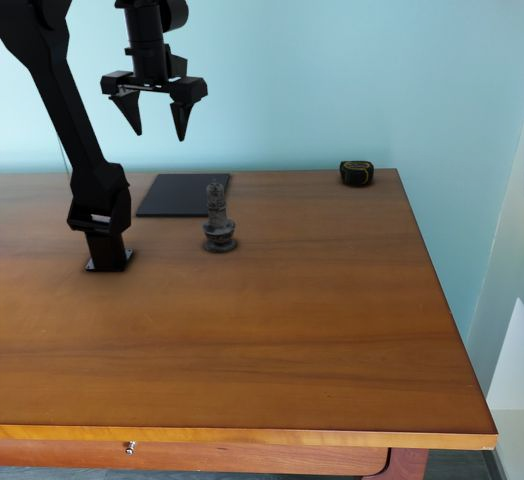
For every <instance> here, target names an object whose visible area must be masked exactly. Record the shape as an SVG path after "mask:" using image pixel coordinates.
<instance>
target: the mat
mask: <svg viewBox="0 0 524 480" xmlns="http://www.w3.org/2000/svg"><path fill="white" fill-rule="evenodd" d="M230 177H231V174H230V173H227V172H226V173H223V172H222V173H217V172H216V173H158V174H157V175H156V177H155V179H154V181H153V182H152V183H151V186H150V187H149V190H148V191H147V193H146V195H145V197H144V198H143V200H142V202H141V203H140V205H139V207H138V208H137V210H136V212H135V217H139V218H140V217H141V218H143V217H146V218H147V217H148V218H149V217H150V218H151V217H152V218H153V217H154V218H155V217H161V218H162V217H164V218H165V217H166V218H167V217H169V218H170V217H171V218H172V217H175V218H176V217H177V218H178V217H180V218H181V217H185V218H186V217H188V218H190V217H193V218H194V217H195V218H197V217H198V218H199V217H200V218H201V217H208V218H209V213H208V208H206V204H207V203H208V199H207V186H208V185H209V184H211V183H212V182H213V181H212V180H213V179H214V178H215V179H216V182H217V183H220V184H221V185H222V186H223V188H224V194H226V190H227V187H228V184H229V180H230Z"/></svg>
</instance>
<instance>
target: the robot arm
mask: <svg viewBox="0 0 524 480" xmlns="http://www.w3.org/2000/svg"><path fill="white" fill-rule="evenodd" d="M72 3H73V0H0V42H1V43H2V45H3V46H4V47H5V49H6V50H7V51H8V52H9V53H10V54H11V56H13V57H14V58H15V59H16V60H17V61H19V63H21V64H22V65H23V67H25V68H26V69H27V71H28V72H29V74H30V76H31V79H32V80H33V83H34V86H35V88H36V90H37V92H38V94H39V96H40V98H41V101H42V103H43V106H44V107H45V110H46V112H47V114H48V117H49V120H50V121H51V124H52V125H53V128H54V130H55V132H56V135H57V137H58V139H59V141H60V143H61V146H62V148H63V150H64V153H65V155H66V157H67V159H68V161H69V163H70V164H69V165H70V166H71V174H70V175H71V176H70V180H69V188H70V191H71V194H72V198H71V201H70V206H69V210H68V213H67V217H66V219H65V220H66V221H65V222H66V225H68V227H69V229H70V230H71V231H74V232H82V233H83V234H84V237H85V241H86V244H87V248H88V251H89V255H90V259H89V260H88V263H87V264H86V266H85V268H84V269H85V271H86V272H124V271H125V269H126V267H127V265H128V264H129V261H130V260H131V258H132V255H133V254H134V250H133V249H131V248H125V242H124V239H123V233H124V232H125V231H127V230H128V229H129V228H130V227H132V195H131V192H130V189H129V188H130V187H131V184H130V183H129V182H128V179H127V177H126V173H125V169H124V167H123V165H122V164H121V163H120V162H112V161H108V160H107V159H106V158H105V155H104V153H103V151H102V148H101V146H100V143H99V140H98V137H97V135H96V133H95V130H94V127H93V125H92V122H91V120H90V117H89V115H88V112H87V109H86V106H85V104H84V102H83V99H82V96H81V94H80V91H79V89H78V86H77V83H76V81H75V78H74V75H73V73H72V70H71V67H70V64H69V61H68V59H67V58H68V51H69V44H70V38H71V34H70V30H69V26H68V23H67V19H66V17H67V15H68V12H69V10H70V8H71V6H72ZM113 6H114V8H115V9H116V10H117V9H118V10H122V13H123V19H124V25H125V32H126V39H127V43H128V47H125V48H123V50H124V55H125V56H127V57H130V61H131V66H132V71H130V70H120V69H118V70H115V71H112V72H109V73H106V74H103V75H101V77H100V81H99V87H100V92H101V94H102V95H105V96H107V99H108V101H112V102H113V103H114V105H115V106H116V108H117V109H118V110H119V111H120V113H121V114H122V116H123V117H124V118H125V120H126V121H127V123H128V124H129V126H130V127H131V129H132V130H133V132H134V133H135V134H136V136H137V137H141V136H142V135H143V125H142V124H143V123H142V117H141V112H140V104H139V99H140V95H141V92H150V93H159V94H168V95H169V98H170V99H171V101H172V102H170V103H169V108H170V112H171V116H172V120H173V125H174V129H175V133H176V136H177V139H178V142H180V143H182V142H184V141H185V139H186V134H187V129H188V125H189V120H190V116H191V113H192V111H193V108H194V106H195V105H196V104H197V103H199V102H201V101H202V99H204V98H205V97H207V96H209V89H208V83H207V82H206V80H205V79H204V77H201V76H190V75H188V64H189V62H188V61H189V60H188V58H185V57H184V56H183V57H182V56H180V55H177V54H172V50H171V46H170V43H167V42H166V43H165V39H164V34H167V33H169V32H172V31H175V30H178V29H181V28H184V26H185V25H186V24H187V23H188V20H189V16H190V8H189V5H188V3H187V1H186V0H115V1H114V4H113ZM174 79H175V80H174Z"/></svg>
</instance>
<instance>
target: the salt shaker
mask: <svg viewBox="0 0 524 480" xmlns="http://www.w3.org/2000/svg"><path fill="white" fill-rule="evenodd" d="M212 181H213V182H212V183H211V184H209V185H208V186H207V199H208V203H207V204H206V208H208V213H209V217H208V220H206V221H205V222H204V223H202V225H201V231H202V232H203V234H204V236H205V238H206V239H207V241H206V242H205V248H206V250H207V251H210V252H213V253H224V252H228V251H231V250H233V249H234V248H235V246H236V241H235V240H234V239H233V236H234V233H235V229H236V227H237V224H236V222H235V221H233V220H232V219H230V218H228V215H227V207H228V203H227V201H225V193H224V188H223V186H222V185H221V184H220V183H217V182H216V179H215V178H214V179H213V180H212Z"/></svg>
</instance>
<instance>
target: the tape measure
mask: <svg viewBox="0 0 524 480" xmlns="http://www.w3.org/2000/svg"><path fill="white" fill-rule="evenodd" d="M338 169H339V175H340V176H341V180H342V181H343V182H344V183H346V184H351V185H357V186H358V185H363V184H368V183H370V182H371V181H372V180H373V178H374V174H375V165H374V164H373V163H372V162H371V161H367V160H343V161H342V160H341V161H340V163H339V168H338Z"/></svg>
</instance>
